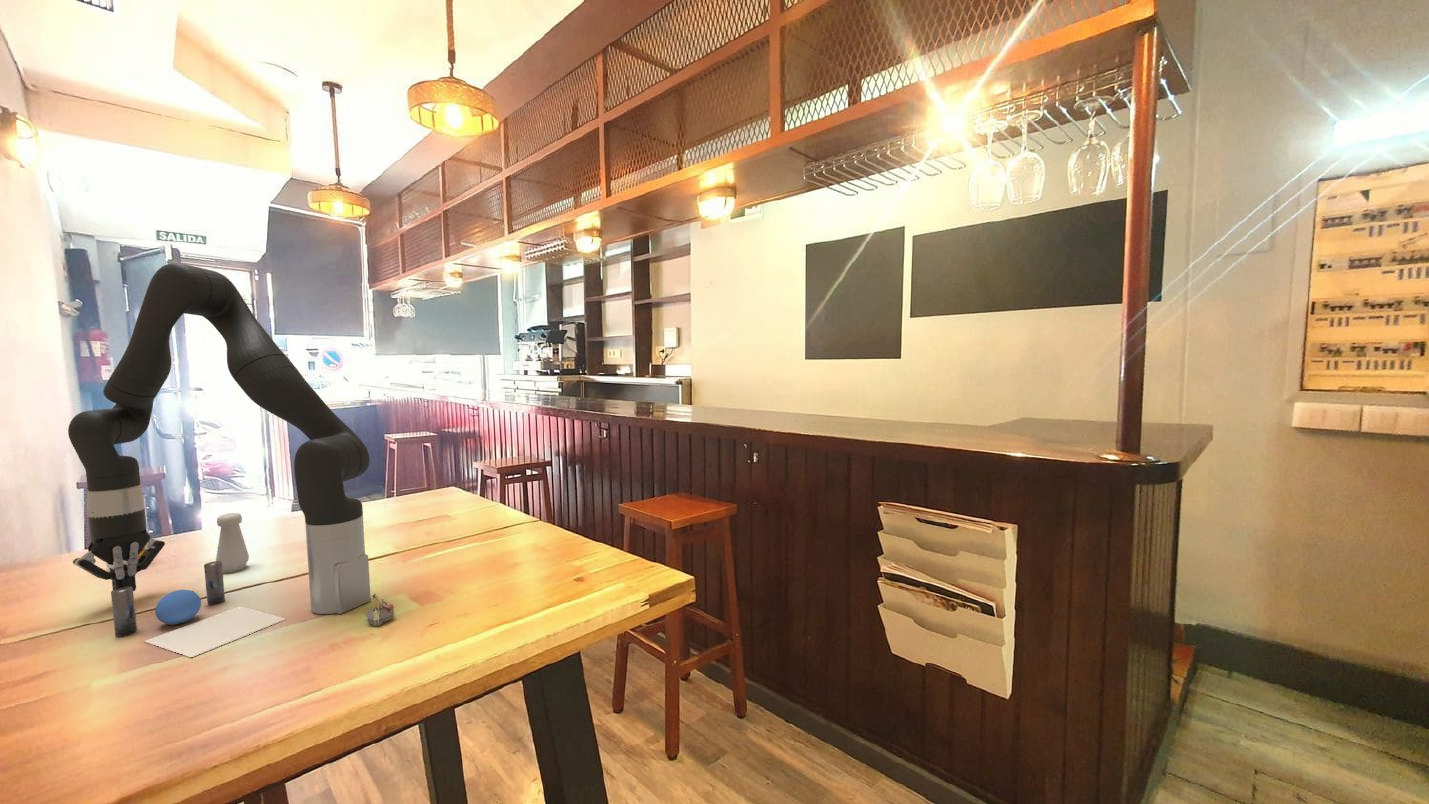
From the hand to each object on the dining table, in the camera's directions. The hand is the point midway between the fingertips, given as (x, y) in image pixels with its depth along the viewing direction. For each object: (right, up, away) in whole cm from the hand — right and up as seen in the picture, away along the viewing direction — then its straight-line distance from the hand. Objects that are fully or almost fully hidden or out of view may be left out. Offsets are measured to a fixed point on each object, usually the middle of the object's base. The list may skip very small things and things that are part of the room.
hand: (125, 595), depth 109 cm
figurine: (+56, -2, -8) cm, 57 cm away
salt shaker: (+7, 0, +17) cm, 18 cm away
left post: (+13, -2, -12) cm, 18 cm away
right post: (+18, -1, 0) cm, 18 cm away
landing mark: (+29, -2, -11) cm, 31 cm away
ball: (+19, +1, -9) cm, 21 cm away
